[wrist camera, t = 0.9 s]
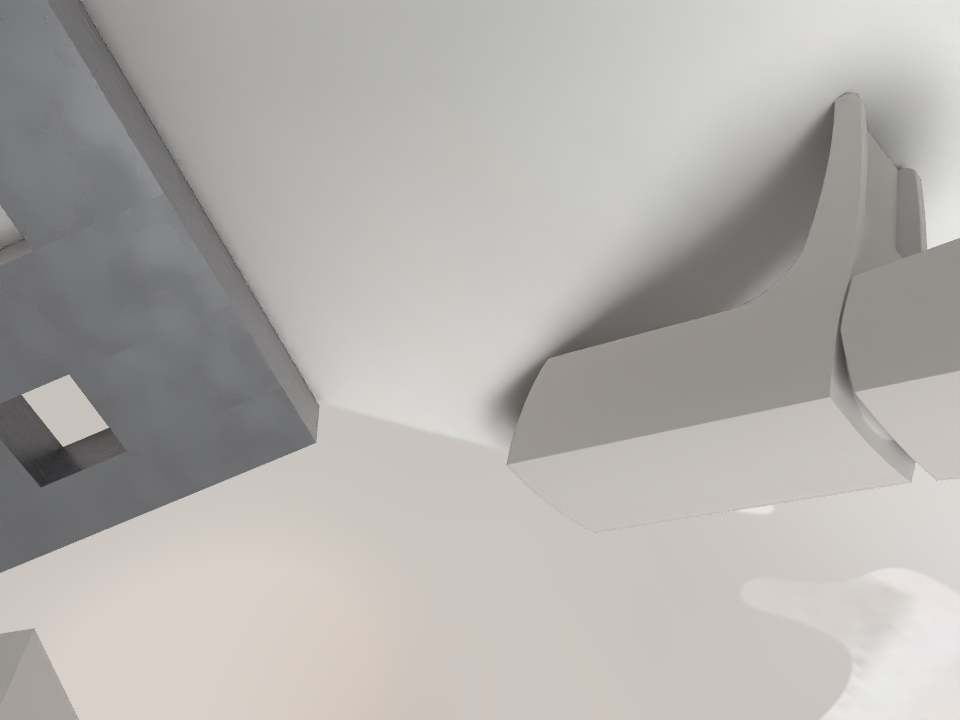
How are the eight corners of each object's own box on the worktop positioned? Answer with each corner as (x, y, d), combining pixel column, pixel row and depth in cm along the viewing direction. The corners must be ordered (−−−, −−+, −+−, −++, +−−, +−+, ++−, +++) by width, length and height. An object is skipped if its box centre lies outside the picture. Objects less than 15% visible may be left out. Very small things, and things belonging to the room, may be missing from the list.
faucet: (499, 467, 35) (1031, 358, 20) (605, 198, 44) (1037, -19, 29) (597, 541, 38) (1134, 494, 23) (679, 274, 47) (1112, 111, 31)
